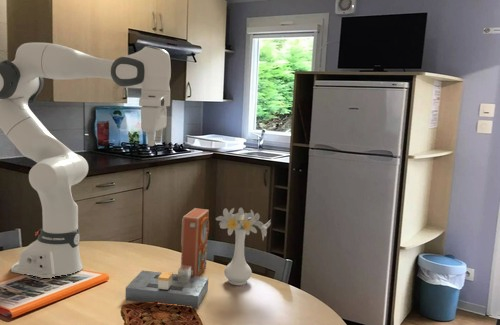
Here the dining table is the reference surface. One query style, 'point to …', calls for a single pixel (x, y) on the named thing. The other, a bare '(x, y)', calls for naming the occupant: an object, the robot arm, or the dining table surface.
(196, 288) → the box
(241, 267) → the flower vase
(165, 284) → the block
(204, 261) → the orange retro radio
